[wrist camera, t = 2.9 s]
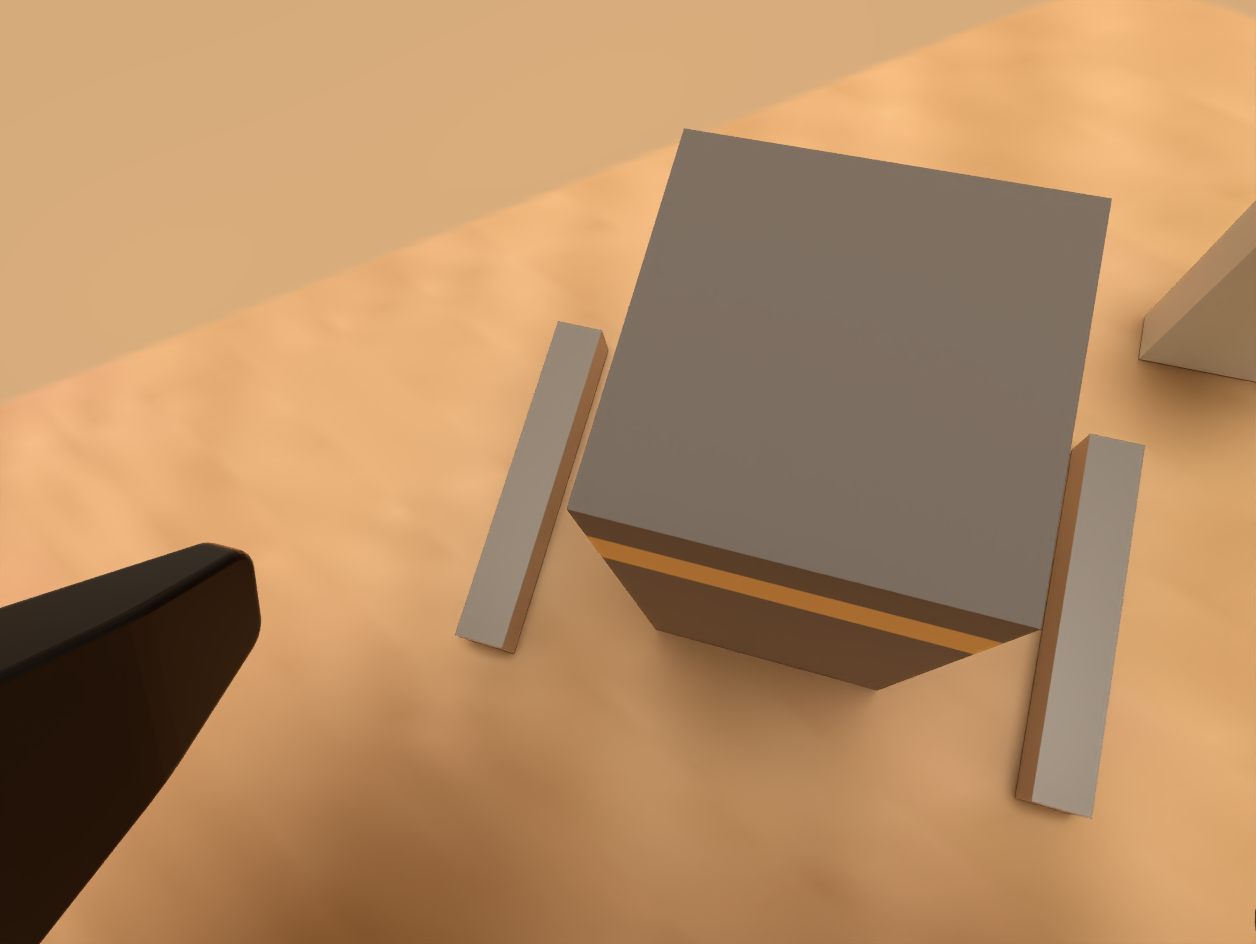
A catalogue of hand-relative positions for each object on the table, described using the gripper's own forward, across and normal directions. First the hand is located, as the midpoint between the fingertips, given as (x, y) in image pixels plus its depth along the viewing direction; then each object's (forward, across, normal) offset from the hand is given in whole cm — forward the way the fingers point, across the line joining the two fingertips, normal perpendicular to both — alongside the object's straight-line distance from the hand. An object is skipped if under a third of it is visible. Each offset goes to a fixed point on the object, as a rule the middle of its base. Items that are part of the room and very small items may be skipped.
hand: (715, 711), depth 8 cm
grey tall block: (+10, 0, +5) cm, 11 cm away
